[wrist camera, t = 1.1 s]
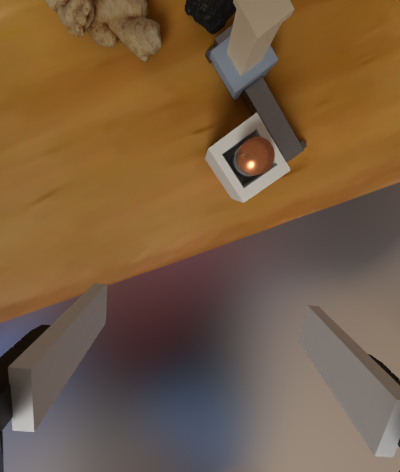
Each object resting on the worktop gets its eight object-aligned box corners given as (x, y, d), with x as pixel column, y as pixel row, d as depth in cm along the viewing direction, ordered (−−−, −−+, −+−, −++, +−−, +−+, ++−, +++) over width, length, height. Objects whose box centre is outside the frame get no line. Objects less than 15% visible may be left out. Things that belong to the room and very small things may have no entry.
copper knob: (224, 158, 30) (231, 151, 24) (249, 140, 29) (262, 128, 24) (240, 183, 31) (251, 182, 25) (264, 165, 30) (281, 160, 24)
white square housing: (204, 158, 37) (208, 148, 27) (242, 130, 36) (259, 110, 26) (231, 198, 38) (243, 202, 28) (267, 172, 37) (293, 168, 27)
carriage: (208, 67, 33) (216, -4, 21) (247, 36, 33) (280, -57, 20) (230, 103, 34) (250, 56, 22) (268, 74, 34) (311, 8, 21)
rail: (205, 56, 33) (206, 45, 31) (238, 29, 33) (242, 16, 30) (273, 169, 37) (278, 167, 35) (304, 147, 36) (312, 144, 34)
